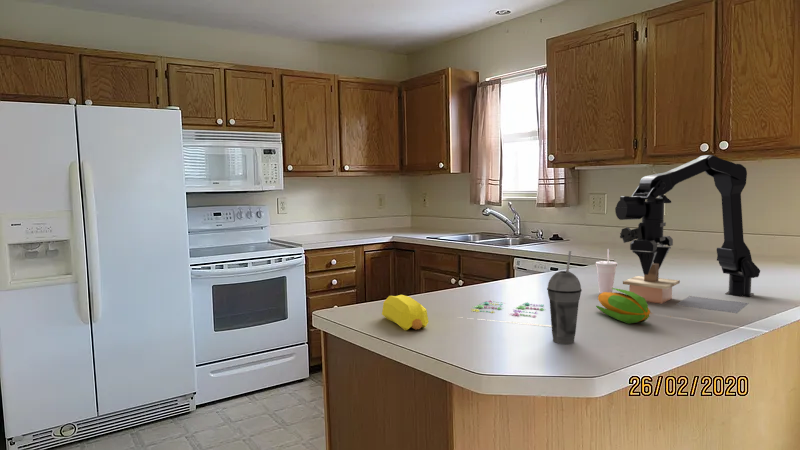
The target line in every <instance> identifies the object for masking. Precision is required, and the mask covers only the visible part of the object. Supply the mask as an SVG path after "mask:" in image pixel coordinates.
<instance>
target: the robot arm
mask: <svg viewBox="0 0 800 450" xmlns="http://www.w3.org/2000/svg"><path fill="white" fill-rule="evenodd" d="M747 171H748V170H747V168H746V166H744V165H743V164H741V163H735V162H734V161H733V162H732V161H728V160H726V159H722V158H720V157H718V156H716V155H713V154H706V155H700V156H699V157H697V158H696V159H693V160H691V161H687V162H686V163H684V164H681V165H679V166H677V167H675V168H672V169H670V170H668V171H665V172H661V173H653V174H648V175H644V176H643V177H641V179H640V181H639V182H638V183H639V185H638V186H637V187H636V189H635V191H634V192H633V193H632V195H631V196H627V195H621V196H619V200H618V202H617V203H616V206H615V211H614V212H615V215H616V217H617V219H618V220H619V221H627V220H628V221H631V220H634V221H635V220H641V221H640V222H639V223H638V226H637V227H636V228H632V229H631V228H630V227H624V228H622V229H621V231H620V233H619V234H620V235H619V239H622V241H623V243H624V244H626V243H629V250H630V251H631V252H632V253H634V254H635V255H636V256H637V257H638V258H639V263H640V266H641V270H642V273H643V275H644V274H645V275H648V274H649V271H650V269H651V266H652V264H653V263H655V264H659V270H660V269H661V266H662V265H663V263H664V261H665V259H666V257H667V255H668V253H669V251H670V250H671V249H672V246H673V245H674V239H673V238H672V237H671V236H670V235H664V227H666V225H667V222H666V221H665V220H664V219H665V213H664V212H665V204H671V203H672V200H671V199H670V198H668V197H667V196H666V194H667V193H669V192H670V191H671V190H673V189H674V188H675V186H676V185H677V184H680V183H682V182H684V181H686V180H688V179H690V178H691V179H692V178H693V177H695V176H698V175H700V174H702V173H705V174H706V175H707V176H709V177H711V178H713V182H714V186H715V188H716V189H717V191H718V192H719V193H720V196H721V209H722V211H721V212H722V224H723V228H722V229H723V243H722V245H721V247H716V254H717V257H716V261H718V264H719V266H720V267H721V271H722V273H723V274H726V275H727V274H728V275H729V276H728V290H727V292H726V293H724V295H728V296H737V297H745V298H750V297H752V296H754V295H755V293H754V292H752V279H755V278H759V276H760V274H761V270H760V268H759V267H758V266H757V265H756V264H755V263H754V261H753V258H752V253H751V250H750V249H749V247H748V245H747V244H746V243H745V240H744V226H743V225H744V224H743V212H742V211H743V207H742V192H743V190H744V189H745V187H746V184H747V176H748V172H747ZM664 221H665V222H664Z"/></svg>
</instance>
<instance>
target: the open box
mask: <svg viewBox="0 0 800 450" xmlns="http://www.w3.org/2000/svg"><path fill="white" fill-rule="evenodd" d="M628 291H630V292H634V293H635V294H637V295H639V296H641V297H643V298H645V300H646V302H647V303H654V304H661V305H662V304H663V305H664V303H666V302H668V301H670V300H672V299H673V287H671V288H669V289H660V288H651V287H643V286H634V285H629V290H628Z"/></svg>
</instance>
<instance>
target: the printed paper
mask: <svg viewBox="0 0 800 450" xmlns="http://www.w3.org/2000/svg"><path fill="white" fill-rule="evenodd" d="M487 305H493V306H487ZM494 305H495V306H498V307H495V306H494ZM503 305H504V303H503V302H500V301H496V303H495V301H492V300H488V301H487V300H485V301H484V302H482V304H477V305H476V306H473V307H472V308H470V311H471V312H476V313H479V312H482V313H491V314H493V313H494V314H495V310H503V309H504V307H502V306H503ZM544 305H545V304H535V303H534V304H533V303H530V302H524V303H522V304H520V305H518V306H516V307H515V308H513V309H512V310H513V312H514V313H508V314H509V315H512V316H514V317H515V316H517V317H518V316H519V315H520V316H524V317H533V318H536V314H537V310H539V311H545V310H546V308H544ZM529 306H534V307H529ZM535 306H539V307H540V308H539V307H535ZM541 306H542V307H541ZM475 308H476V309H475ZM482 308H485V309H487V308H488V309H493V310H492V311H490V310H479V309H482ZM494 309H495V310H494ZM517 309H518V310H517ZM523 309H525V310H527V309H528V310H529V309H530V310H532V309H533V310H535V312H533V311H532V312H531V311H529V312H528V311H522V310H523ZM524 313H528V314H524ZM531 314H534V315H531ZM458 318H462V317H458ZM469 319H470V320H473V318H471V317H470V318H469V317H468V320H469ZM478 320H480V321H481V320H482V321H483V320H484V321H485V319H484V318H478ZM489 321H490V322H496V320H494V319H488V322H489ZM498 322H500V323H511V324H519V325H520V324H521V325H528V326H529V325H530V326H531V325H532V326H537V327H539V326H540V327H549V328H552V326H551V324H540V323H530V322H529V323H528V322H516V321H505V320H498Z"/></svg>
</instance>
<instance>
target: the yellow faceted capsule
mask: <svg viewBox="0 0 800 450" xmlns="http://www.w3.org/2000/svg"><path fill="white" fill-rule="evenodd" d="M381 315H382V316H383V317H384V318H385V319H387V320H388V321H391V322H392V323H395V324H397V325H398V326H399V327H400V328H401V329H403V330H404V331H408V330H409V329H410V328H412V329H413V330H414V331H417V330H420V329H424V328H427V325H428V324H429V317H428V311H427V309H426V307H424V306H423V304H421V303H420V302H418V301H417V300H415V299H414V298H412V297H411V296H408V295H404V294H399V295H388V297H387V298H386V299H385V300H384V301H383V304H382V311H381Z"/></svg>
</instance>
